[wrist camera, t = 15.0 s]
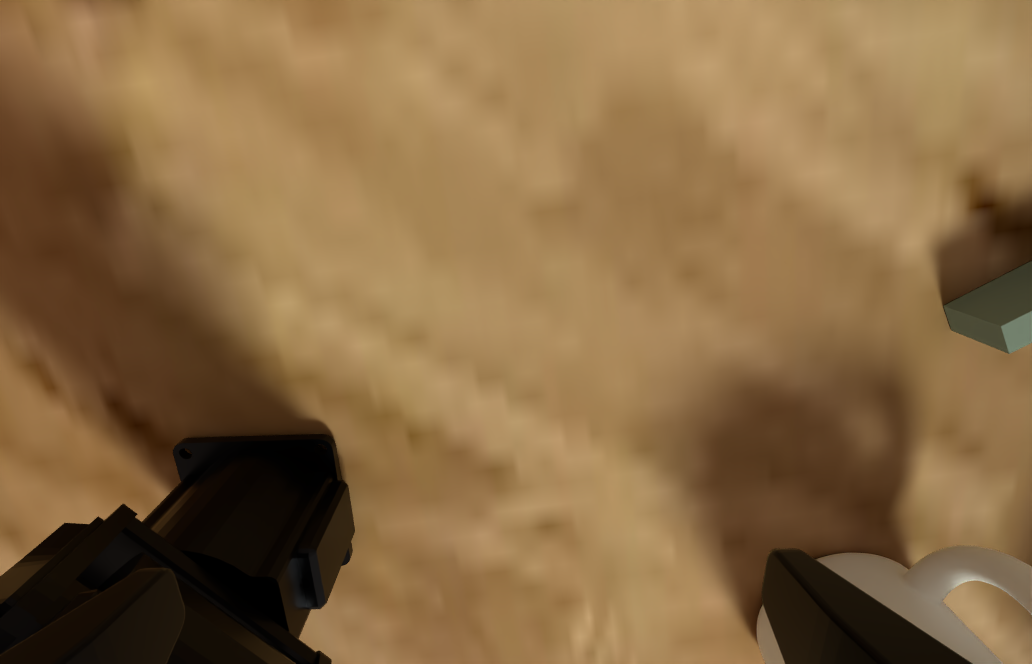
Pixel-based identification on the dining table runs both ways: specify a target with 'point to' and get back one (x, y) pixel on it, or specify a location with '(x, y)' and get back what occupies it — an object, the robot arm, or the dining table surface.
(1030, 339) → the u-shaped frame
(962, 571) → the mug
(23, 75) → the dining table surface
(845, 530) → the dining table surface
